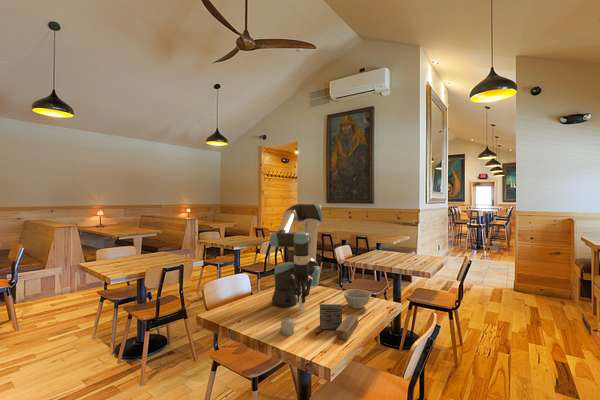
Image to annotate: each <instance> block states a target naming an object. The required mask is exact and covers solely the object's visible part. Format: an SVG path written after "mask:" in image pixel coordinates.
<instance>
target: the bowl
mask: <svg viewBox="0 0 600 400" xmlns="http://www.w3.org/2000/svg"><path fill="white" fill-rule="evenodd" d="M342 294H343V296H344V299H345V301H346V302H347V304H348V305H350V307H352V308H354V309H362V308H364V306H365V305H367V304H368V303H369V301H370V298H371V296H372V293H371V292H370V291H367V290H364V289H359V288H357V289H356V288H353V289H352V288H351V289H350V288H349V289H346V290H344V291H343V292H342Z"/></svg>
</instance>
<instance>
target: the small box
mask: <svg viewBox="0 0 600 400" xmlns="http://www.w3.org/2000/svg"><path fill="white" fill-rule="evenodd" d="M342 322H343V307H342V304H336V303H333V304H332V303H331V304H326V303H325V304H324V303H323V304H322V303H321V304H320V303H319V331H336V329H337V328H338V327H339V326H340V324H341V323H342Z"/></svg>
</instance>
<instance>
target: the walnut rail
mask: <svg viewBox="0 0 600 400" xmlns="http://www.w3.org/2000/svg"><path fill="white" fill-rule="evenodd" d="M358 325H359V316H355V315H349V314H348V315H347V316H346V317H345V318H344V319H343V320H342V323H341V324H340V326H339V327H338V328H337V329H336V330H335V335H336V336H335V339H337V340H341V341H345V342H348V340H349V339H350V338H351V336H352V335H353V333H354V331H355V330H356V328H357V327H358Z"/></svg>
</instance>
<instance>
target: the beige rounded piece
mask: <svg viewBox="0 0 600 400" xmlns="http://www.w3.org/2000/svg"><path fill="white" fill-rule="evenodd" d="M294 334H295V320H294V318H292V317H282V319H281V320H280V335H281V336H282V337H291V336H293V335H294Z"/></svg>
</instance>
